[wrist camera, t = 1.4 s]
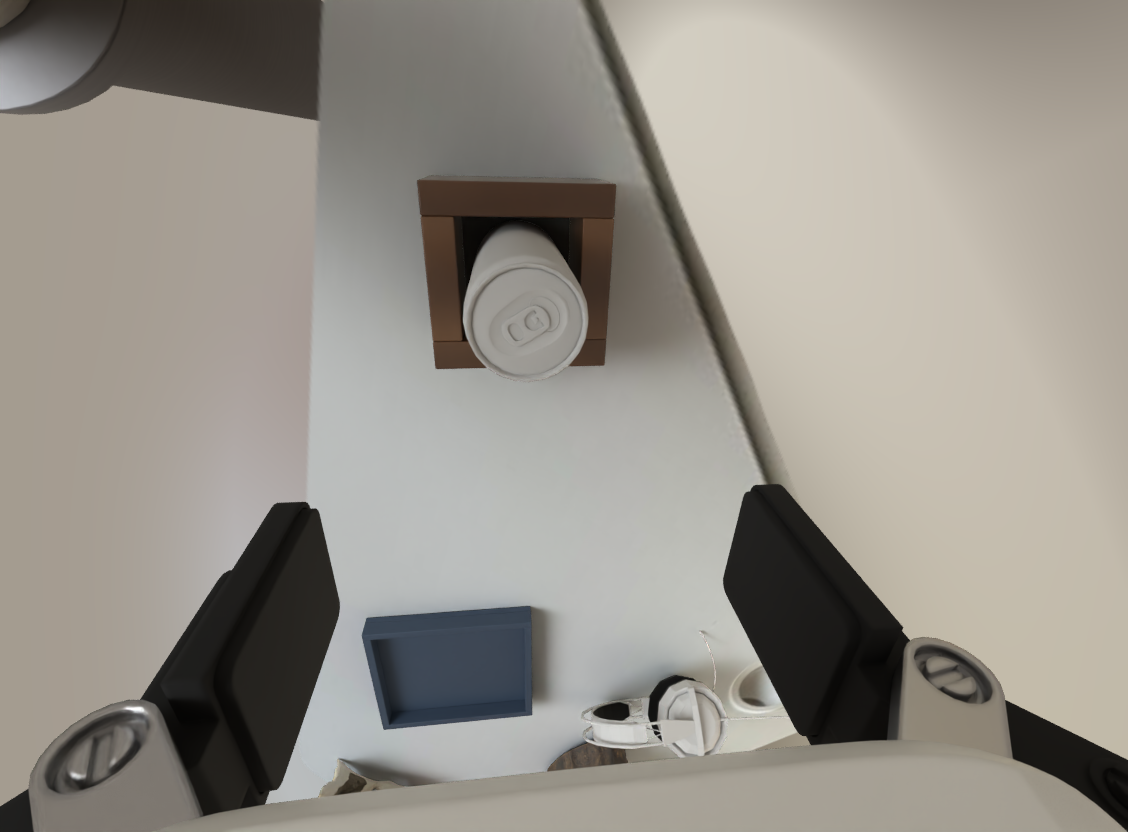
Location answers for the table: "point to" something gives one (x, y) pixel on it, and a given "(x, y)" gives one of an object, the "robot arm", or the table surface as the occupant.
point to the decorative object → (352, 783)
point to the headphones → (666, 719)
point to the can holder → (513, 198)
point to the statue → (589, 757)
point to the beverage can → (523, 304)
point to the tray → (451, 666)
